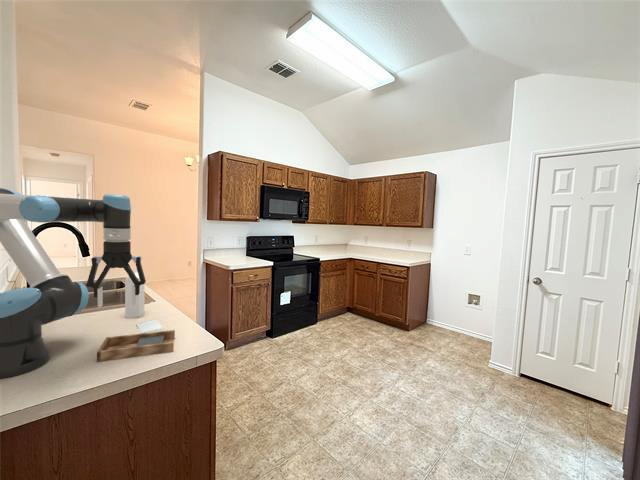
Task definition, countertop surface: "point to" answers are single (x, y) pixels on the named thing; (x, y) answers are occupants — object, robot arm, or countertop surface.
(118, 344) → the box
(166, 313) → the countertop surface
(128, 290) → the milk
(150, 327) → the hard drive
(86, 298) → the robot arm
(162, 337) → the grey square tile
